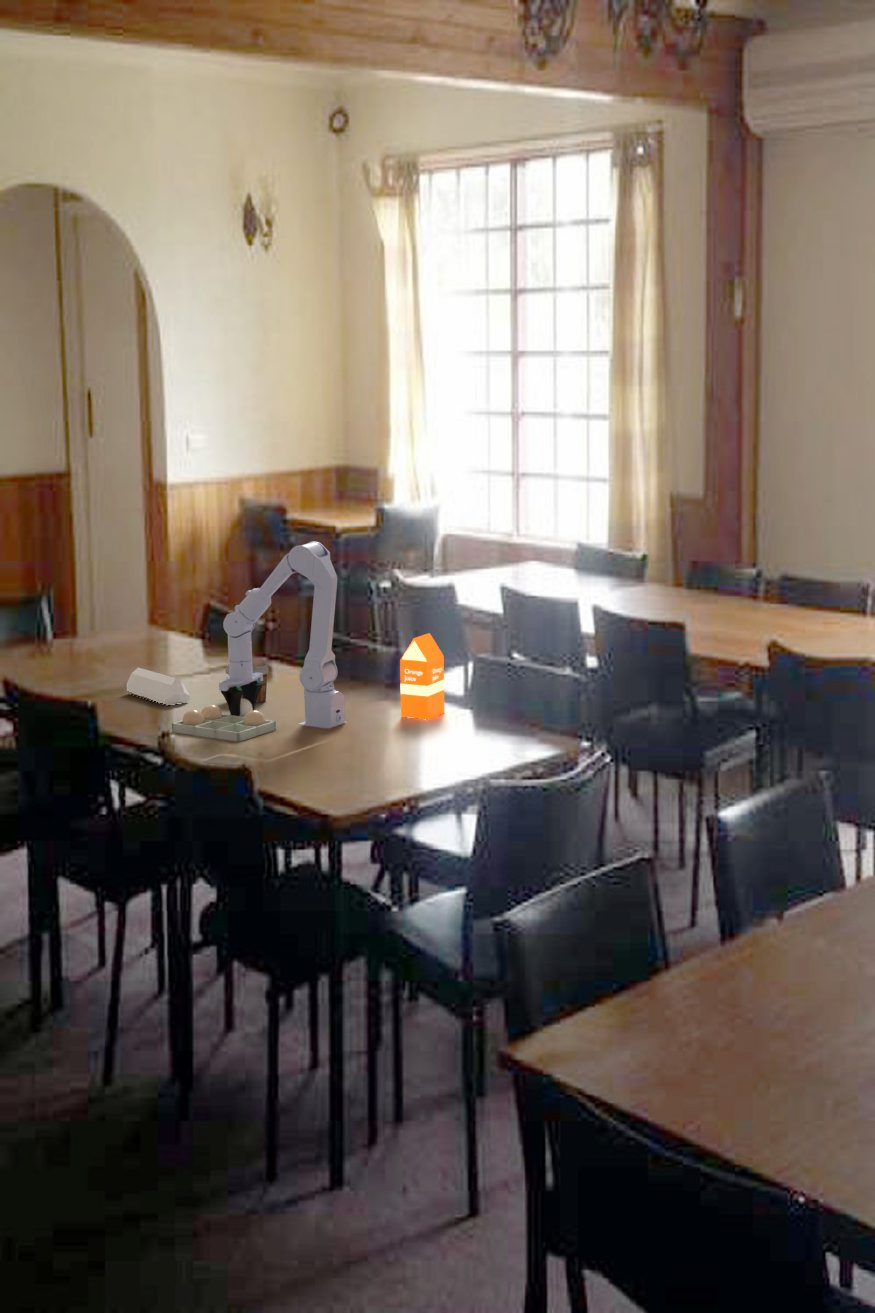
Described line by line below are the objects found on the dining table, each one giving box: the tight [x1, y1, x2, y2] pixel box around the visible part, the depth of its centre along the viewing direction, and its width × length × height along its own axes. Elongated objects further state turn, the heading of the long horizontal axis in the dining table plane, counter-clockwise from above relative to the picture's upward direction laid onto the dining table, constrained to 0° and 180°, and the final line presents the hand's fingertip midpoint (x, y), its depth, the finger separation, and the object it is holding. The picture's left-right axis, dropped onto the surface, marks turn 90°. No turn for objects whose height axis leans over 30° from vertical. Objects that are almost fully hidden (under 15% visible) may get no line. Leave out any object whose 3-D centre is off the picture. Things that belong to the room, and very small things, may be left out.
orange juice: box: [399, 632, 445, 721], centre depth 405 cm, size 8×9×20 cm
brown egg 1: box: [182, 709, 204, 726], centre depth 391 cm, size 5×5×5 cm
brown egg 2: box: [201, 703, 223, 720], centre depth 397 cm, size 5×5×5 cm
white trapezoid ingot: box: [126, 667, 190, 706], centre depth 431 cm, size 7×7×24 cm
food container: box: [225, 662, 270, 704], centre depth 422 cm, size 12×6×10 cm, turn 62°
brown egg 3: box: [244, 709, 266, 727], centre depth 390 cm, size 5×5×5 cm
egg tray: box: [171, 713, 277, 743], centre depth 391 cm, size 20×14×3 cm
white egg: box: [240, 698, 253, 717], centre depth 404 cm, size 5×5×5 cm
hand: (242, 714), depth 404 cm, fingers closed on white egg, 5 cm apart
